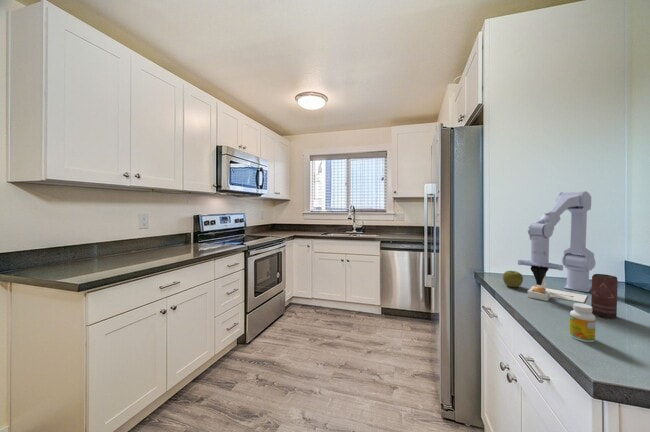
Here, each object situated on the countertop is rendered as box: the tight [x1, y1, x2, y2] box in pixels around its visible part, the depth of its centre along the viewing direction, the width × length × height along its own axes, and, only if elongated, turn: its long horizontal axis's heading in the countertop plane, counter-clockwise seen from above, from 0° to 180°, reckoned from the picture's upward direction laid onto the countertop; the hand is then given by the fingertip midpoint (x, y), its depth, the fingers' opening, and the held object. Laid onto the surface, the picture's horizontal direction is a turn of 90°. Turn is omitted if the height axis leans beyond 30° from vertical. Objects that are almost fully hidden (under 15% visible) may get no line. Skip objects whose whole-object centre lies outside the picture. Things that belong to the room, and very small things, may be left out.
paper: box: [526, 285, 588, 304], centre depth 113 cm, size 11×18×1 cm, turn 40°
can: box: [590, 273, 619, 320], centre depth 91 cm, size 6×6×14 cm
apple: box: [502, 270, 524, 288], centre depth 124 cm, size 8×8×7 cm
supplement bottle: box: [569, 302, 597, 343], centre depth 77 cm, size 5×5×10 cm
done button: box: [533, 285, 545, 294], centre depth 110 cm, size 4×4×2 cm
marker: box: [536, 273, 547, 290], centre depth 117 cm, size 3×3×8 cm
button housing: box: [527, 287, 552, 302], centre depth 110 cm, size 6×6×2 cm
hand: (539, 284), depth 110 cm, fingers closed
